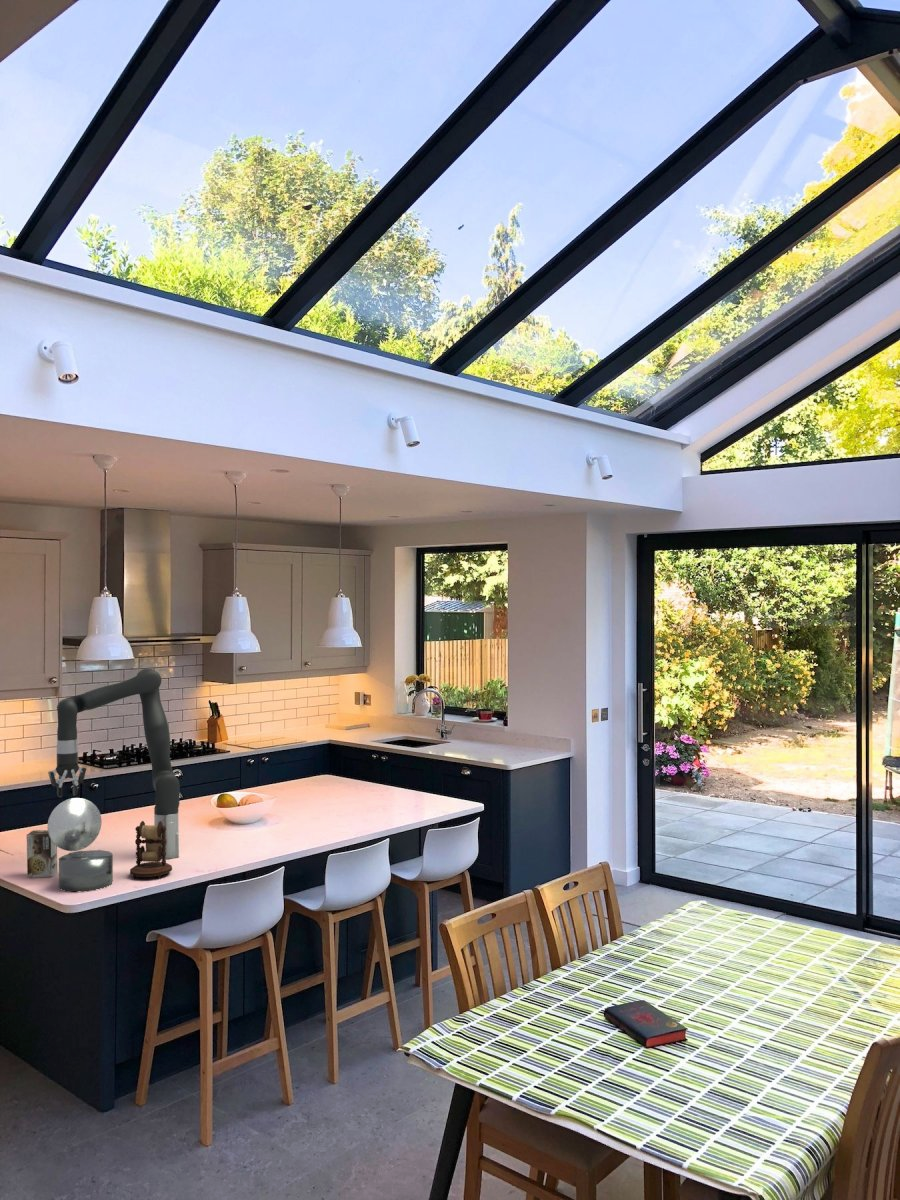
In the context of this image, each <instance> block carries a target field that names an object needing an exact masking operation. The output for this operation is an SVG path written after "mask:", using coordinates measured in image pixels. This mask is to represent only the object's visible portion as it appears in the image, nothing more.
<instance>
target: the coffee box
mask: <svg viewBox="0 0 900 1200" xmlns="http://www.w3.org/2000/svg"><path fill="white" fill-rule="evenodd" d="M26 858H27V859H26V860H27V861H26V869H27V873H26V874H27V875H26V876H27V877H32V878H48V877H47V876H52V877H53V876H55V875H56V874H58V847H57V846H56V845H55V844H54V843H53V842H52V841H51V839H50V837H49V834H48V829H46V830H45V829H41V830H40V829H39V830H37V829H36V830H32V831H30V832H29V833H27V834H26ZM44 876H46V877H44ZM27 877H26V878H27Z"/></svg>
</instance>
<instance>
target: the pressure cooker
mask: <svg viewBox="0 0 900 1200" xmlns="http://www.w3.org/2000/svg"><path fill="white" fill-rule="evenodd" d="M113 855H114V854H113V852H111V851H107V850H100V849H97V850H95V849H94V850H78V851H70V852H69V853H67V854H64V855H61V856H60V857H59V858H58V889H59V888H60V889H62V890H65V891H64V892H66V891H87V892H90V891H89V890H94V891H97V890H96V889H99V890H101V889H100V888H102V889H105V888H108V887H109V885H110V886H111V885H113V883H114V882H113V881H114V875H113V874H114V872H113V871H114V863H113V862H114V861H113V860H114V856H113ZM112 882H113V883H112ZM107 886H108V887H107ZM104 887H105V888H104ZM60 889H59V890H60ZM62 890H61V891H62Z"/></svg>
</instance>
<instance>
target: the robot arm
mask: <svg viewBox="0 0 900 1200" xmlns="http://www.w3.org/2000/svg"><path fill="white" fill-rule="evenodd" d="M161 685H162V677H161V675H160V673H159V672H158V671H157V670H155V669H154V668H149V667H148V668H147V667H146V668H142V669H141V670H139V671H138V673H136V675H135V676H133V677H131V678H128V679H127V680H124V681H122V682H121V681H120V682H118V683H113V684H109V685H105V686H102V687H98V688H95V689H92V690H90V691H89V690H88V691H86V692H84V693H82V694H76V695H74V696H70V697H69V696H68V697H66V698H62V699H61V700H60V701H59V702H58V703H57V706H56V712H57V724H58V725H57V730H56V732H57V734H56V736H57V737H56V739H57V741H56V768H55V769H53V770H49V771H48V772H47V774H48V776H49V781H50V784H51V786H53V787H54V788H55V787H56V795H57V797H58V798H63V784H64V782H65V779H70V780H71V781H72V784H73V785H72V796H77V794H79V785H80V784H83V783H84V779H85V776H86V771H87V768H86V767H84V766H79V747H78V746H79V743H78V727H77V724H78V723H77V721H78V720H77V719H78V713H82V712H84V711H91V710H93V709H97V708H100V707H103V706H106V705H108V704H112V703H113V702H117V701H119V700H122V699H125V698H127V697H132V696H136V695H139V698H140V701H141V707H142V708H141V710H142V722H143V724H142V725H143V732H144V737H145V742H146V746H147V747H146V748H147V750H148V754H149V758H150V763H151V773H152V787H153V789H154V790H155V804H154V805H155V806H154V809H153V814H154V815H153V817H154V819H153V820H154V821H153V823H154V824H153V825H158V823H159V821H162V823H163V826H165V827H166V831H165V832H166V833H165V835H166V838H165V839H166V840H167V842H166V845H165V848H166V850H165V852H166V856H165V857H166V858H165V860H168V859H169V858H170V859H174V858H179V856H180V854H179V853H180V850H179V849H180V846H179V845H180V842H179V841H180V839H179V836H180V835H179V833H180V832H179V807H180V797H181V796H180V793H181V788H180V786H181V785H180V781H179V778H178V777H177V776H176V775H175V773H174V771H173V767H172V762H171V757H170V755H171V754H170V751H171V735H170V729H169V724H168V723H169V722H168V719H167V715H166V714H165V710H164V708H163V704H162V702H161V695H160V687H161ZM78 772H79V774H78V777H77V773H78ZM56 774H57V775H58V778H57V780H56ZM161 839H162V835H161ZM162 857H163V856H162ZM162 859H163V858H162ZM162 859H161V860H162Z"/></svg>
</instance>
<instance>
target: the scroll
mask: <svg viewBox="0 0 900 1200" xmlns="http://www.w3.org/2000/svg"><path fill="white" fill-rule="evenodd" d="M135 831H136V832H135V833H136V835H135V837H136V839H135V845H136V849H135V850H136V852H135V856H136V861H135V863H136V865H134V866H133V867H131V868H130V869H129V874H130V875H131V876H132V879H133V878H135V879H136V877H141V878H142V877H143V878H149V877H150V878H151V877H157V878H158V879H159V880H160V879H161V877H162V876H163V875H166V874H168V873H170V872H172V870H173V866H172V865H171V864H170V863H168V862H167V861H166V860H167V859H165V858H166V857H165V856H166V852H165V850H166V848H165V845H166V842H167V840H166V839H165V838H166V835H165V833H166V832H165V831H166V827H165V826H163V823H162V821H159V823H158V825H154V824H150V825H149V824H148V825H147V824H146V823H145V821H144V820H141V822H140V823H139V825H138V826H137V825H136V827H135ZM161 835H162V839H161ZM141 844H145V846H144V845H141ZM162 856H163V857H162ZM162 858H163V859H162Z"/></svg>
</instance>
